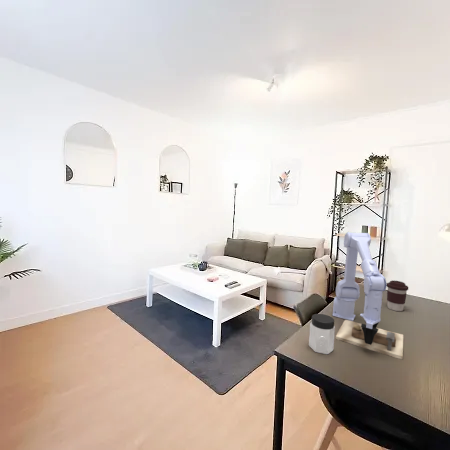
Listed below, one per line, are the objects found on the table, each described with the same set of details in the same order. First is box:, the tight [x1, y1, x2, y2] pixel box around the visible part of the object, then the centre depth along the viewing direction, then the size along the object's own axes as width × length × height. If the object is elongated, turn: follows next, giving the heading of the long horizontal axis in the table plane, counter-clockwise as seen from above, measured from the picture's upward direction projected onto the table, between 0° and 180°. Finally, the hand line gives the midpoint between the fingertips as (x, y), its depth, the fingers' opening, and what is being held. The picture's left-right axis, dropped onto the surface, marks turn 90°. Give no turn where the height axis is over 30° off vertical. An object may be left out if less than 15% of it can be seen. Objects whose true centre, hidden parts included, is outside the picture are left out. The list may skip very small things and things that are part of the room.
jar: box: [308, 313, 336, 355], centre depth 100 cm, size 9×8×12 cm
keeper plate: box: [335, 319, 404, 360], centre depth 109 cm, size 23×20×6 cm
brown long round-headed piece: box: [352, 327, 396, 347], centre depth 105 cm, size 15×4×3 cm, turn 61°
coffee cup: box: [386, 280, 409, 312], centre depth 142 cm, size 10×10×15 cm
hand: (369, 339), depth 103 cm, fingers open, 7 cm apart
